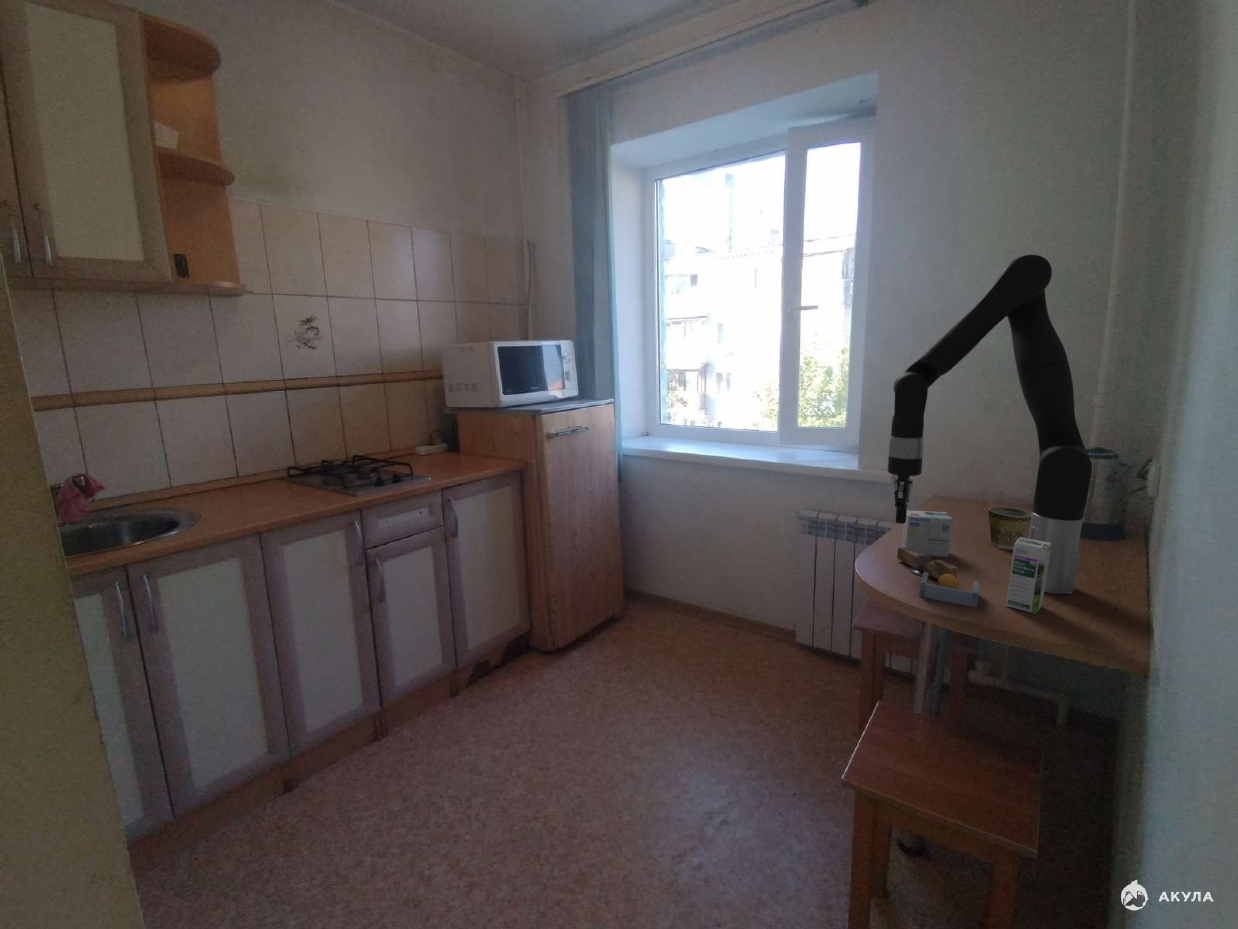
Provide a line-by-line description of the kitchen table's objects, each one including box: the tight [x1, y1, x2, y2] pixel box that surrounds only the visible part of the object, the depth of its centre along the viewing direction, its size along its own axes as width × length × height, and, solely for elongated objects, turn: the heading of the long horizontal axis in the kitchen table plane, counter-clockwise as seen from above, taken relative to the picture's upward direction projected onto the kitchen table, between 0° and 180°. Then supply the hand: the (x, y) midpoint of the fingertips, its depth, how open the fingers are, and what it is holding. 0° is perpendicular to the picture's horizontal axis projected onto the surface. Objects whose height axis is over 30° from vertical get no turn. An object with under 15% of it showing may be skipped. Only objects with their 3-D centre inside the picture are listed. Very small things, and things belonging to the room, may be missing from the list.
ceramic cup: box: [987, 505, 1032, 551], centre depth 161 cm, size 13×10×10 cm
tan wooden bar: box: [896, 546, 959, 580], centre depth 142 cm, size 17×3×4 cm, turn 14°
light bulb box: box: [901, 509, 953, 558], centre depth 156 cm, size 11×7×11 cm, turn 74°
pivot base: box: [909, 566, 933, 578], centre depth 143 cm, size 6×6×1 cm
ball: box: [937, 574, 959, 589], centre depth 132 cm, size 4×4×4 cm
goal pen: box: [919, 572, 980, 609], centre depth 130 cm, size 11×8×3 cm
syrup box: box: [1005, 536, 1051, 615], centre depth 123 cm, size 6×6×14 cm
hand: (900, 522), depth 146 cm, fingers closed
